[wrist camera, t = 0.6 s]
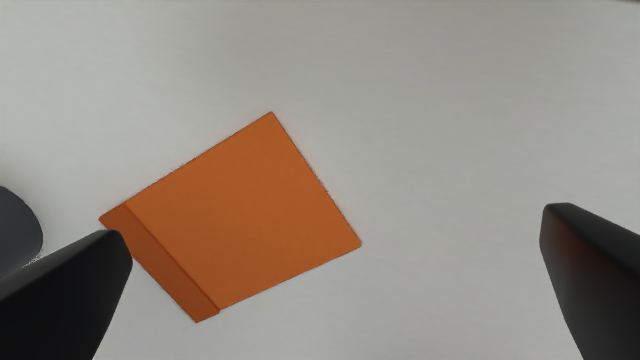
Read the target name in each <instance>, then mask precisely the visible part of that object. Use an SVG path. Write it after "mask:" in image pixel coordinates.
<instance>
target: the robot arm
mask: <svg viewBox="0 0 640 360" xmlns="http://www.w3.org/2000/svg"><path fill="white" fill-rule="evenodd" d="M539 244H540V250H541V253H542V256H543V259H544V262H545V265H546V268H547V271H548V273H549V276H550V279H551V282H552V285H553V288H554V291H555V294H556V297H557V300H558V302H559V305H560V308H561V311H562V314H563V316H564V319H565V321H566V324H567V326H568V328H569V330H570V332H571V335H572V337H573V339H574V341H575V343H576V345H577V347H578V349H579V351H580V353H581V355H582V357H583V359H584V360H640V235H638V234H636V233H634V232H632V231H630V230H627V229H625V228H623V227H621V226H619V225H617V224H614V223H612V222H610V221H608V220H606V219H604V218H602V217H599V216H597V215H595V214H593V213H591V212H589V211H587V210H584V209H582V208H580V207H578V206H576V205H574V204H571V203H552V204H547V205H546V206H545V208H544V210H543V216H542V223H541V231H540V239H539ZM132 266H133V260H132V256H131V254H130V251H129V249H128V247H127V245H126V243H125V241H124V238H123V236H122V234H121V233H120V232H119V231H118V230H116V229H109V230H99V231H96V232H94V233H92V234H90V235H88V236H86V237H84V238H82V239H80V240H78V241H76V242H74V243H72V244H70V245H68V246H66V247H64V248H62V249H60V250H58V251H56V252H54V253H52V254H50V255H48V256H46V257H44V258H42V259H40V260H38V261H36V262H34V263H32V264H30V265H28V266H26V267H24V268H22V269H20V270H18V271H16V272H14V273H12V274H9V275H7V276H5V277H3V278H1V279H0V360H92V359H93V357H94V355H95V353H96V351H97V349H98V347H99V345H100V343H101V341H102V339H103V337H104V335H105V333H106V331H107V329H108V327H109V324H110V322H111V320H112V317H113V315H114V312H115V310H116V307H117V305H118V302H119V300H120V297H121V295H122V292H123V290H124V287H125V285H126V282H127V280H128V277H129V275H130V272H131V270H132Z"/></svg>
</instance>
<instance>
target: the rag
mask: <svg viewBox="0 0 640 360" xmlns="http://www.w3.org/2000/svg"><path fill="white" fill-rule="evenodd" d="M98 220H99V221H100V222H101V223H102V224H103V225H104V226H105V227H106V228H107V229H108V230H109V229H116V230H118V231H119V232H120V233H121V234H122V236H123V238H124V241H125V243H126V245H127V247H128V249H129V251H130V254H131V255H132V256H133V257H134V258H135V259H136V260H137V261H138V262H139V263H140V264H141V265H142V266H143V268H144V269H145V270H146V271H147V272H148V273H149V274H150V275H151V276H152V277H153V278H154V279H155V280H156V281H157V282H158V283H159V285H160V286H161V287H162V288H163V289H164V290H165V291H166V292H167V293H168V294H169V295H170V296H171V297H172V298H173V299H174V300H175V301H176V303H177V304H178V305H179V306H180V307H181V308H182V309H183V310H184V311H185V312H186V313H187V314H188V315H189V316H190V317H191V318H192V320H193V321H194V322H195V323H198V322H200V321H203V320H205V319H207V318H209V317H212V316H214V315H216V314H218V313H219V312H220V310H221V309H224V308H226V307H228V306H230V305H233V304H235V303H237V302H239V301H241V300H244V299H246V298H248V297H250V296H252V295H255V294H257V293H259V292H261V291H264V290H266V289H268V288H270V287H272V286H275V285H277V284H279V283H281V282H283V281H286V280H288V279H290V278H292V277H295V276H297V275H299V274H301V273H303V272H306V271H308V270H310V269H312V268H314V267H317V266H319V265H321V264H323V263H326V262H328V261H330V260H332V259H334V258H337V257H339V256H341V255H343V254H346V253H348V252H350V251H352V250H354V249H357V248H359V247H361V242H360V240H359V239H358V237H357V236H356V234H355V233H354V231H353V230H352V228H351V227H350V226H349V224H348V223H347V221H346V220H345V218H344V217H343V215H342V214H341V212H340V211H339V209H338V208H337V207H336V205H335V204H334V202H333V201H332V199H331V198H330V196H329V195H328V193H327V192H326V190H325V189H324V187H323V186H322V185H321V183H320V182H319V180H318V179H317V177H316V176H315V174H314V173H313V171H312V170H311V168H310V167H309V165H308V164H307V163H306V161H305V160H304V158H303V157H302V155H301V154H300V152H299V151H298V149H297V148H296V146H295V145H294V143H293V142H292V141H291V139H290V138H289V136H288V135H287V133H286V132H285V130H284V129H283V127H282V126H281V124H280V123H279V121H278V120H277V119H276V117H275V116H274V114H273V113H272V112H269V113H268V114H266V115H264V116H263V117H261V118H260V119H258V120H256V121H255V122H253V123H252V124H250V125H248V126H247V127H245V128H243V129H242V130H240V131H239V132H237V133H235V134H234V135H232V136H230V137H229V138H227V139H226V140H224V141H222V142H221V143H219V144H217V145H216V146H214V147H213V148H211V149H209V150H208V151H206V152H204V153H203V154H201V155H200V156H198V157H196V158H195V159H193V160H191V161H190V162H188V163H187V164H185V165H183V166H182V167H180V168H178V169H177V170H175V171H174V172H172V173H170V174H169V175H167V176H166V177H164V178H162V179H161V180H159V181H157V182H156V183H154V184H153V185H151V186H149V187H148V188H146V189H144V190H143V191H141V192H140V193H138V194H136V195H135V196H133V197H131V198H130V199H128V200H127V201H125V202H123V203H122V204H120V205H118V206H117V207H115V208H114V209H112V210H110V211H109V212H107V213H105V214H104V215H102V216H101V217H100V218H99V219H98Z"/></svg>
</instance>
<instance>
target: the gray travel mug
mask: <svg viewBox="0 0 640 360" xmlns="http://www.w3.org/2000/svg"><path fill="white" fill-rule="evenodd" d="M41 245H42V232H41V228H40V225H39V222H38V220H37V219H36V217H35V215H34V214H33V212H32V211H31V210H30V208H29V207H28V206H27V205H26V204H25V203H24V202H23V201H22V200H21V199H20V198H19V197H18V196H16V195H15V194H13V193H12V192H10V191H9V190H7V189H5V188H4V187H1V186H0V279H1V278H3V277H5V276H7V275H9V274H12V273H14V272H16V271H18V270H20V269H21V268H22V267H23V266H24V265H26V264H27V263H28V262H29V261H30V260H32V259H33V258H34V257H35V256H36V255H37V254H38V252H39V250H40V248H41Z"/></svg>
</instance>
